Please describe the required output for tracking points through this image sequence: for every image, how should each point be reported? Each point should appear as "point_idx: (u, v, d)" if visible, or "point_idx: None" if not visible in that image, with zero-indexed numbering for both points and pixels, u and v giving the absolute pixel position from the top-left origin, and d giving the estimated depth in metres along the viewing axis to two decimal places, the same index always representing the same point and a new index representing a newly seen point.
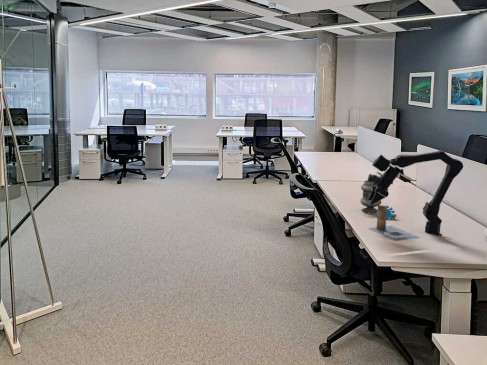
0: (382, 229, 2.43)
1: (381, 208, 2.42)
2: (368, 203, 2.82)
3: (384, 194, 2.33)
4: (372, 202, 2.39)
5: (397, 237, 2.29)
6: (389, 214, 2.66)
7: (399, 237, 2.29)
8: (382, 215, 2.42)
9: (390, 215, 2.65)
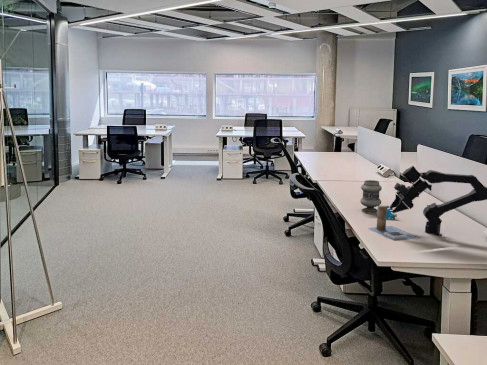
0: (382, 229, 2.43)
1: (381, 208, 2.42)
2: (368, 203, 2.82)
3: (409, 205, 2.32)
4: (394, 211, 2.38)
5: (397, 237, 2.29)
6: (389, 214, 2.66)
7: (399, 237, 2.29)
8: (382, 215, 2.42)
9: (390, 215, 2.66)
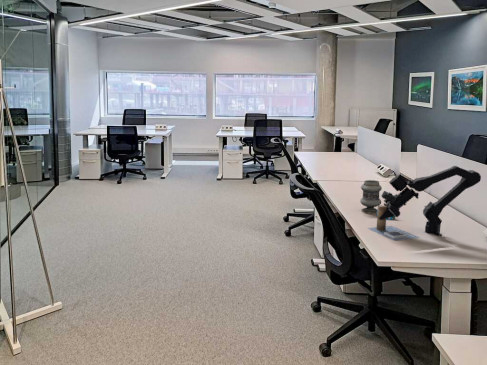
0: (382, 229, 2.43)
1: (381, 208, 2.42)
2: (368, 203, 2.82)
3: (396, 214, 2.34)
4: (381, 218, 2.42)
5: (397, 237, 2.29)
6: None
7: (399, 237, 2.29)
8: None
9: None
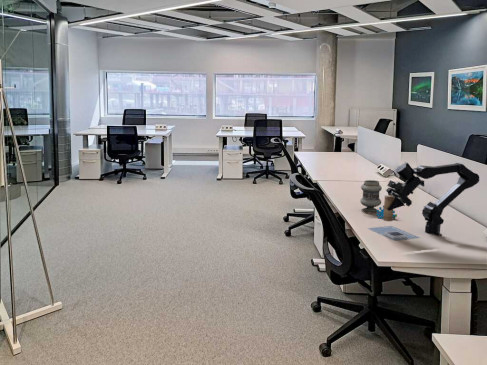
0: (390, 220, 2.35)
1: (389, 198, 2.33)
2: (368, 203, 2.82)
3: (408, 203, 2.27)
4: (390, 208, 2.33)
5: (397, 237, 2.29)
6: None
7: (399, 237, 2.29)
8: None
9: None
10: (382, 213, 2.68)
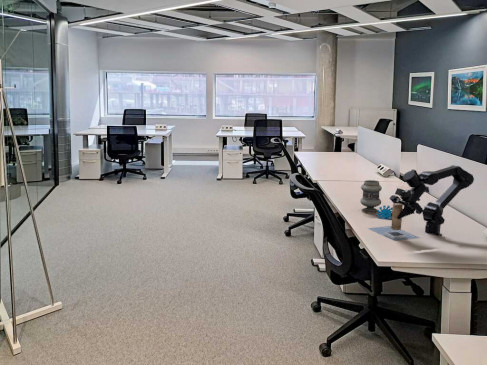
0: (399, 228, 2.31)
1: (399, 206, 2.28)
2: (368, 203, 2.82)
3: (419, 211, 2.24)
4: (399, 217, 2.28)
5: (397, 237, 2.29)
6: (389, 214, 2.66)
7: (399, 237, 2.29)
8: None
9: (390, 215, 2.66)
10: (382, 213, 2.68)
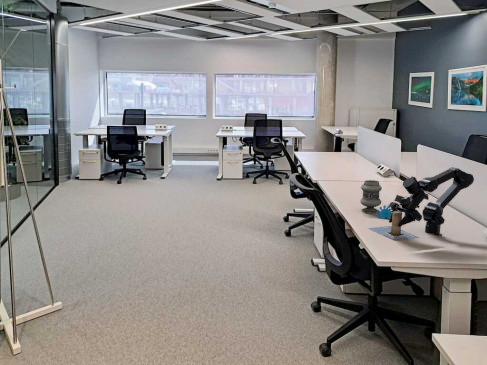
0: None
1: (398, 215, 2.29)
2: (368, 203, 2.82)
3: (419, 218, 2.24)
4: (400, 224, 2.28)
5: (397, 237, 2.29)
6: (389, 214, 2.66)
7: (399, 237, 2.29)
8: (399, 222, 2.30)
9: (390, 215, 2.66)
10: (382, 213, 2.68)
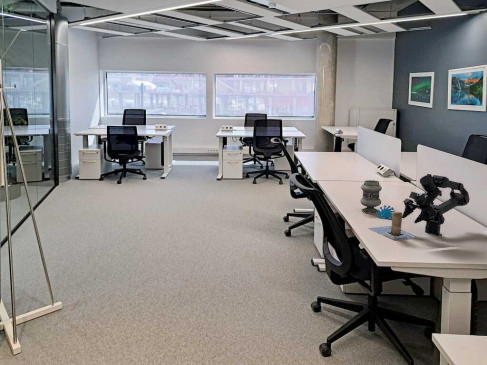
0: None
1: (398, 214, 2.29)
2: (368, 203, 2.82)
3: (433, 214, 2.27)
4: (416, 221, 2.30)
5: (397, 237, 2.29)
6: (390, 214, 2.67)
7: (399, 237, 2.29)
8: (399, 222, 2.30)
9: (390, 215, 2.66)
10: (382, 213, 2.68)
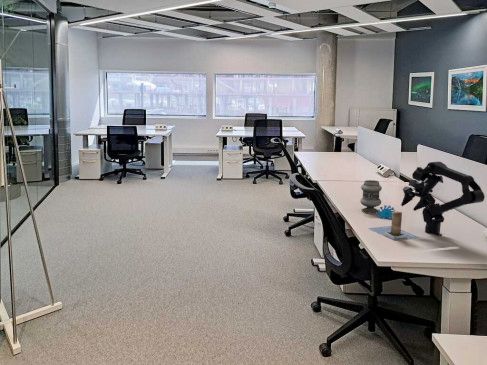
0: None
1: (398, 214, 2.29)
2: (368, 203, 2.82)
3: (432, 202, 2.31)
4: (415, 208, 2.34)
5: (397, 237, 2.29)
6: (390, 214, 2.67)
7: (399, 237, 2.29)
8: (399, 222, 2.30)
9: (391, 215, 2.66)
10: (383, 213, 2.69)
